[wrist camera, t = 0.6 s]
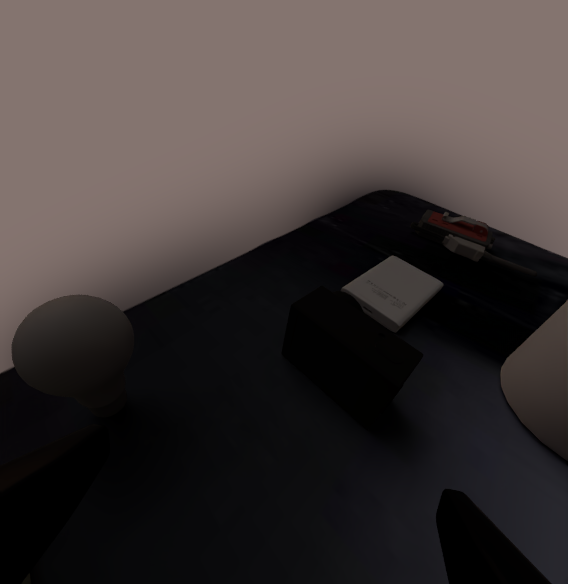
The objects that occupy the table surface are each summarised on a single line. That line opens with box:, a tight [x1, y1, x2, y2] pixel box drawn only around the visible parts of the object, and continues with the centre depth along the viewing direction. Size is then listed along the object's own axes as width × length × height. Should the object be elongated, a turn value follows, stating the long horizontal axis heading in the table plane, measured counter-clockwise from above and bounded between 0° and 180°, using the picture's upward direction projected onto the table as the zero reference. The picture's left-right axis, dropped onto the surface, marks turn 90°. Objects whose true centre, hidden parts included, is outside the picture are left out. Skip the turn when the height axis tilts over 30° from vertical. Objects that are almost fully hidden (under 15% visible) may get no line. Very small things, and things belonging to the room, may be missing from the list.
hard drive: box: [341, 256, 443, 333], centre depth 38 cm, size 2×8×12 cm
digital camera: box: [282, 286, 423, 431], centre depth 26 cm, size 10×5×7 cm, turn 45°
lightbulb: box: [12, 295, 134, 417], centre depth 20 cm, size 6×6×11 cm
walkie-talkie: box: [410, 210, 537, 277], centre depth 50 cm, size 9×4×20 cm
